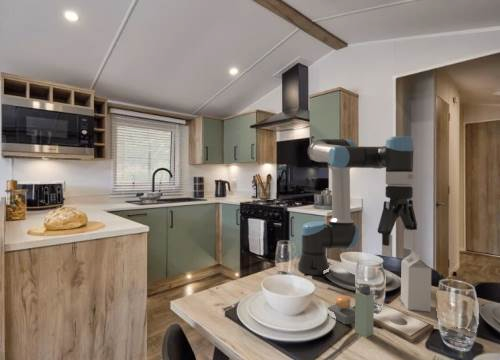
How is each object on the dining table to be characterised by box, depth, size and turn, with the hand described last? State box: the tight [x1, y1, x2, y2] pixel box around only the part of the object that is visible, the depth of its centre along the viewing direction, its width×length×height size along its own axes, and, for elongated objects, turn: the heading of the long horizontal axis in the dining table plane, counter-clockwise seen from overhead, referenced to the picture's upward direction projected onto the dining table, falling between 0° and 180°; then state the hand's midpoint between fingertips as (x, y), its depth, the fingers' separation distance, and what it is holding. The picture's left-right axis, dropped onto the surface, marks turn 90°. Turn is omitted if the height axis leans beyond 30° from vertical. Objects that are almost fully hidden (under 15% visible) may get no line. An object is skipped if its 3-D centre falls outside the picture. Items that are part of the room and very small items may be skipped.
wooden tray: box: [373, 303, 434, 344], centre depth 84 cm, size 18×13×2 cm
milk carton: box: [400, 250, 432, 312], centre depth 94 cm, size 7×7×19 cm
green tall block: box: [354, 283, 375, 339], centre depth 78 cm, size 4×4×14 cm
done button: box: [335, 295, 351, 308], centre depth 86 cm, size 4×4×2 cm
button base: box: [327, 304, 355, 325], centre depth 86 cm, size 7×7×2 cm
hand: (398, 252), depth 84 cm, fingers open, 13 cm apart
